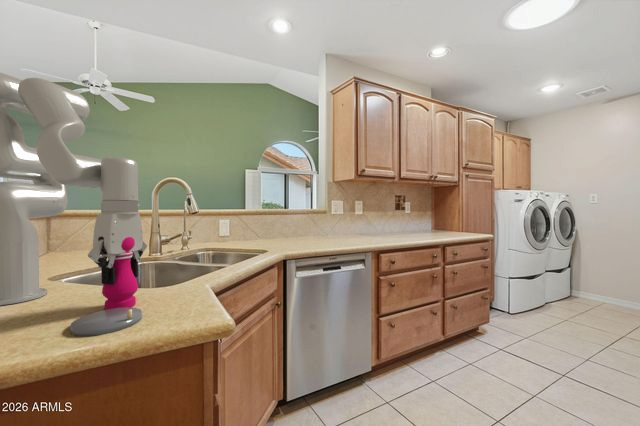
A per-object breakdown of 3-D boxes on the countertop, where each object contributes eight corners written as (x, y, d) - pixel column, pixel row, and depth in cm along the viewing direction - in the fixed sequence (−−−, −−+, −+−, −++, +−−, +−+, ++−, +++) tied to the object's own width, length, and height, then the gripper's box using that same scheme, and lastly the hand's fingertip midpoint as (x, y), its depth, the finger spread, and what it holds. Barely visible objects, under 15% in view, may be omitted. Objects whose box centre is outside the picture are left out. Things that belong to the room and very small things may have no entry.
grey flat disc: (53, 333, 54) (53, 317, 54) (110, 311, 66) (110, 297, 66) (105, 338, 52) (105, 321, 52) (154, 314, 64) (154, 300, 64)
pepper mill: (119, 312, 64) (119, 227, 64) (94, 310, 66) (93, 227, 66) (144, 302, 72) (144, 225, 71) (121, 300, 73) (121, 225, 73)
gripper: (136, 208, 77) (136, 271, 78) (70, 208, 60) (71, 289, 61) (159, 208, 76) (159, 273, 76) (99, 208, 59) (100, 291, 59)
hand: (120, 279), depth 69 cm, fingers closed on pepper mill, 5 cm apart
